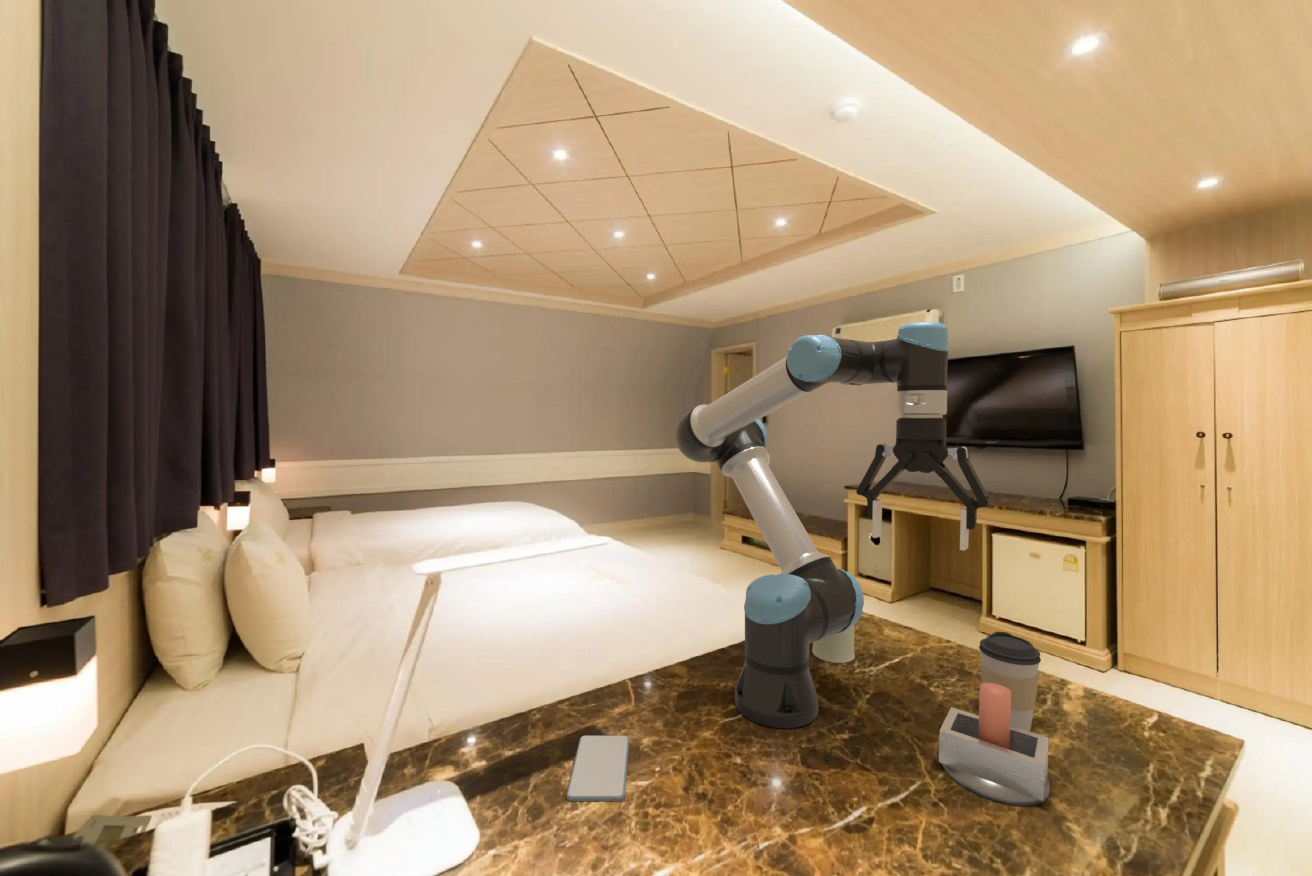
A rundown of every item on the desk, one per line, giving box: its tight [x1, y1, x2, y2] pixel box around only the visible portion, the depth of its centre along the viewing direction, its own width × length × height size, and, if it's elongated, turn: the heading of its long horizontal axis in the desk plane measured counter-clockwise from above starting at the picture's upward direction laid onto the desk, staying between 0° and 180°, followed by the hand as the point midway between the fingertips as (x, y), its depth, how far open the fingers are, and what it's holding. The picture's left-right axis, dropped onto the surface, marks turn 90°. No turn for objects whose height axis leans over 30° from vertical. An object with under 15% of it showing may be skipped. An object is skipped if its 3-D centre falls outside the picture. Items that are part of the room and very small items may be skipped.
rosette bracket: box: [938, 707, 1051, 807], centre depth 81 cm, size 14×14×6 cm
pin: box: [978, 683, 1011, 750], centre depth 81 cm, size 4×4×12 cm
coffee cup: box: [978, 631, 1042, 732], centre depth 94 cm, size 9×9×15 cm
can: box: [811, 624, 856, 664], centre depth 121 cm, size 9×9×12 cm
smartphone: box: [566, 734, 630, 802], centre depth 83 cm, size 8×1×15 cm
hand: (918, 542), depth 90 cm, fingers open, 13 cm apart
